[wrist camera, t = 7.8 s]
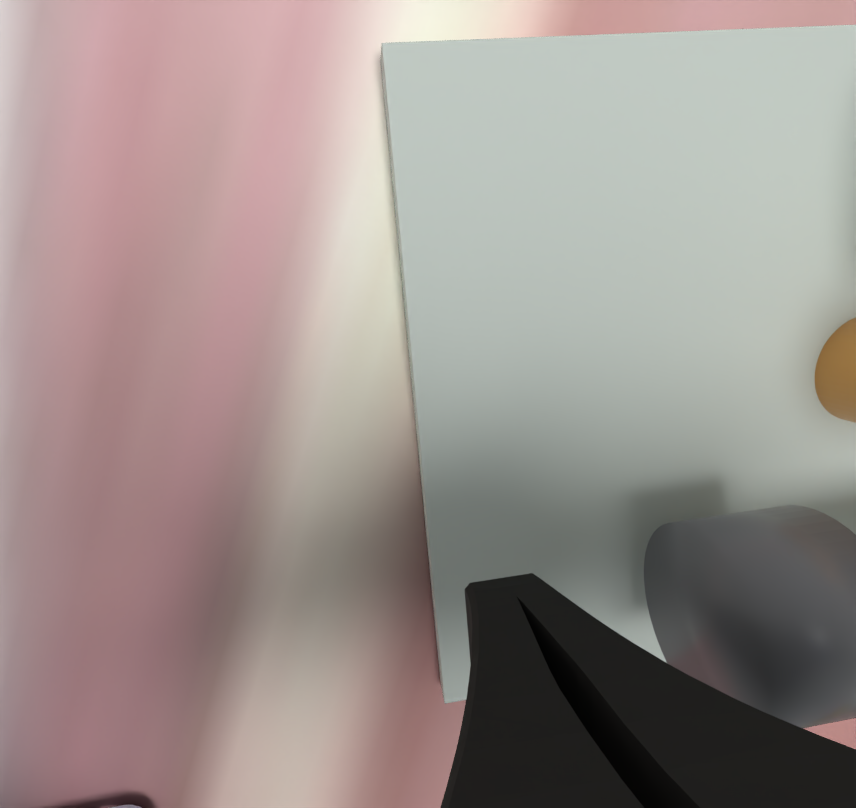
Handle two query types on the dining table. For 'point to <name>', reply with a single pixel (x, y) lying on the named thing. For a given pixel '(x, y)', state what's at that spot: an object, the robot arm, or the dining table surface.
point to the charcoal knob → (760, 608)
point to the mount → (618, 297)
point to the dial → (838, 373)
